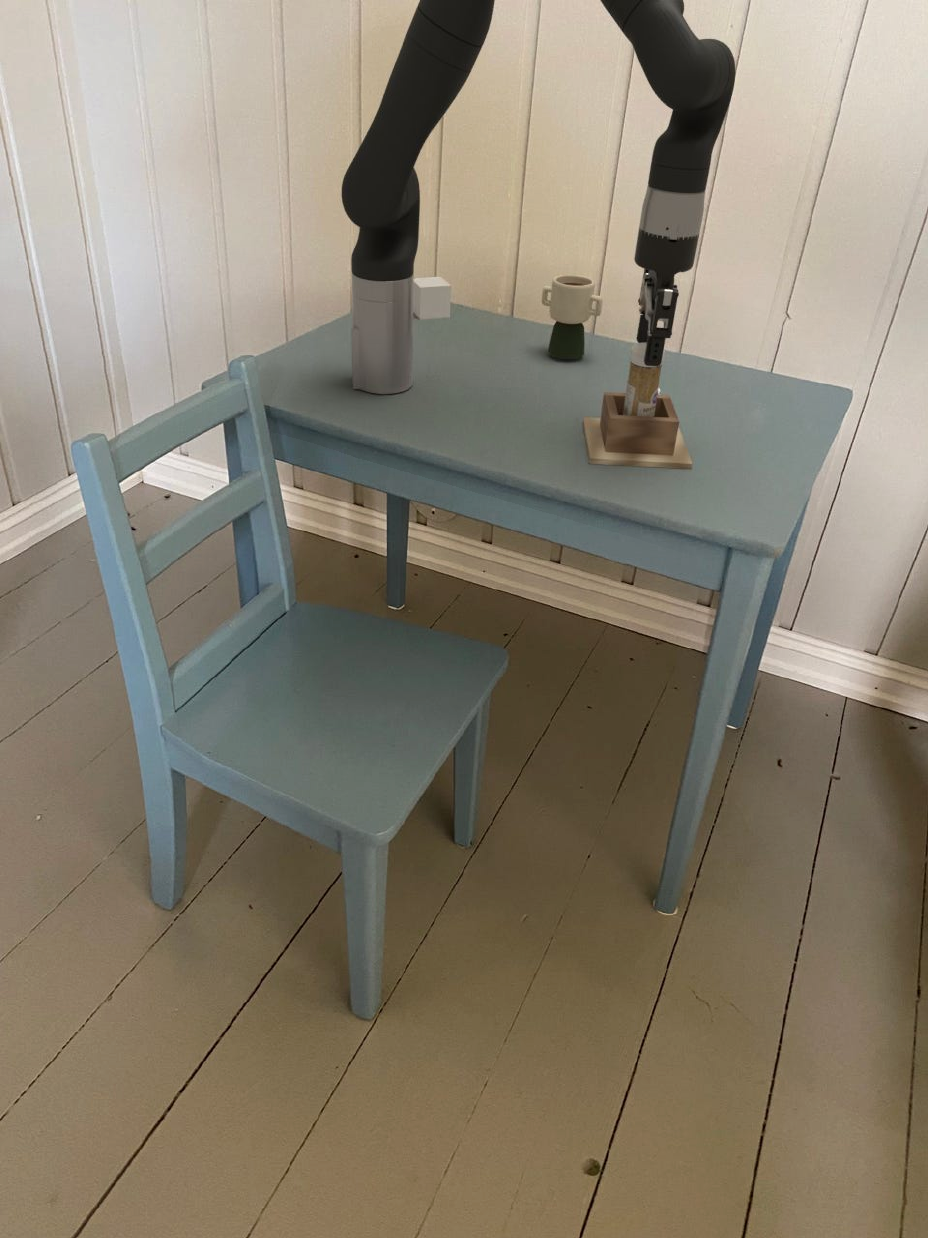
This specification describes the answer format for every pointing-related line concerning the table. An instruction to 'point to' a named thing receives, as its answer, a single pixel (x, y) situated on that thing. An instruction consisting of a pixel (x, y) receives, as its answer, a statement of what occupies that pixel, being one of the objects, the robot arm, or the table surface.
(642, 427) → the socket
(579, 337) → the character mug
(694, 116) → the robot arm
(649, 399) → the sprinkles bottle
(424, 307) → the white cube
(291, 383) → the table surface
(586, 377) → the table surface
